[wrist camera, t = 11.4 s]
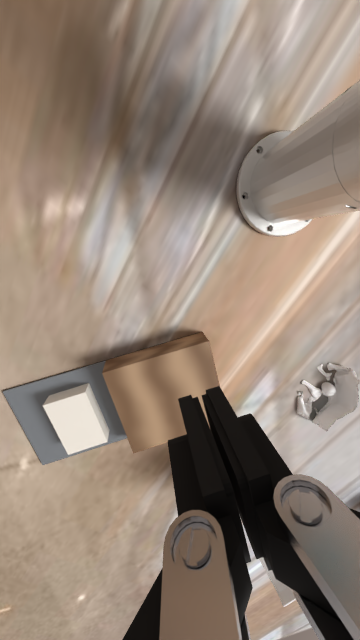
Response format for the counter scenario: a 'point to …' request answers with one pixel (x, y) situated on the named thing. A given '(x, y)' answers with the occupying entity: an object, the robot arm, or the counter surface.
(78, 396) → the cream rectangular block
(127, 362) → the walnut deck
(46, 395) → the rubber mat
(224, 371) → the counter surface
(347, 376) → the white irregular piece
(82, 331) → the counter surface
